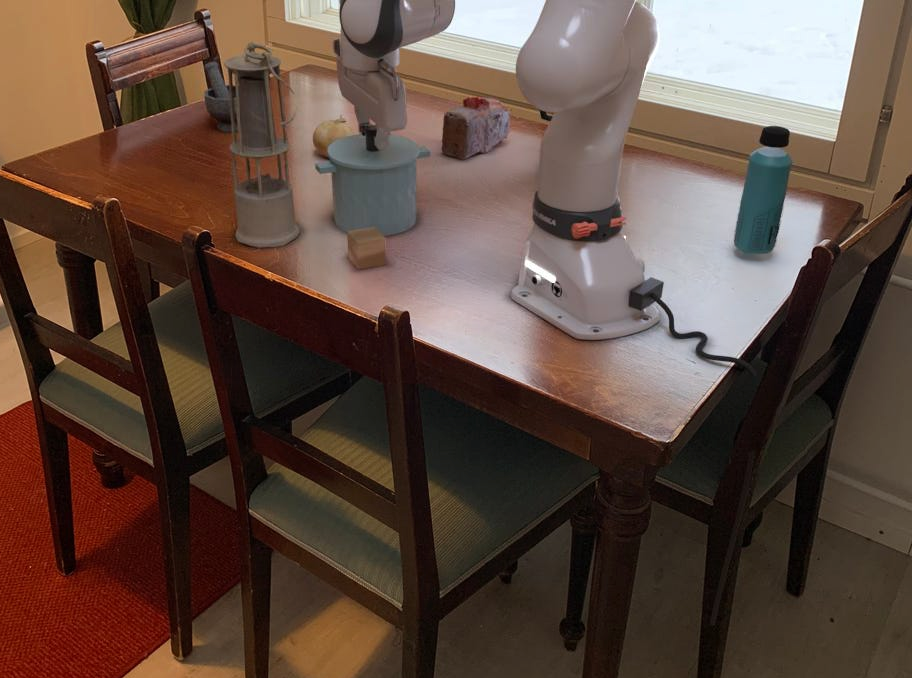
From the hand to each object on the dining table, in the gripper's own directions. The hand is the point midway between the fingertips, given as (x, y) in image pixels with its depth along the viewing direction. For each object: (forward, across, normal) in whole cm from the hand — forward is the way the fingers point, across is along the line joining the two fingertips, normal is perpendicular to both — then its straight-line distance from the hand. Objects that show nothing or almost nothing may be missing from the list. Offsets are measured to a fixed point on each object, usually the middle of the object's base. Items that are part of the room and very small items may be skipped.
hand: (373, 141), depth 160 cm
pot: (+13, 0, 0) cm, 13 cm away
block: (+13, -14, +7) cm, 21 cm away
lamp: (+14, 0, +18) cm, 22 cm away
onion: (+14, +31, -4) cm, 34 cm away
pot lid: (+2, 0, 0) cm, 2 cm away
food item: (+14, +23, -30) cm, 40 cm away
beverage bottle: (+14, -36, -49) cm, 62 cm away
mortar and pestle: (+14, +55, +10) cm, 58 cm away
